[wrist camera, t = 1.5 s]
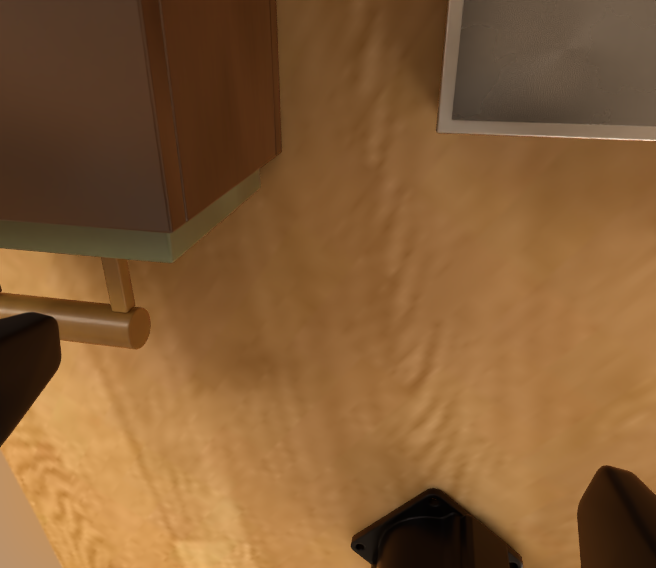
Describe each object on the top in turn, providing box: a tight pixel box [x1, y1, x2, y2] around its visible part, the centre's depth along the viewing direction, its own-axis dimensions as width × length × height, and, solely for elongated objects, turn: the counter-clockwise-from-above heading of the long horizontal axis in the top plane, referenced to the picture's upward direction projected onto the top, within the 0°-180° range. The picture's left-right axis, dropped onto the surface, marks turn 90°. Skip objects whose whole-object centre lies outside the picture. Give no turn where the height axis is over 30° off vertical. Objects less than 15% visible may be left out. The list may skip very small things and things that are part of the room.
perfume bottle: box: [436, 0, 656, 141], centre depth 15 cm, size 9×4×4 cm, turn 90°
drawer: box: [0, 169, 261, 349], centre depth 16 cm, size 19×13×7 cm
